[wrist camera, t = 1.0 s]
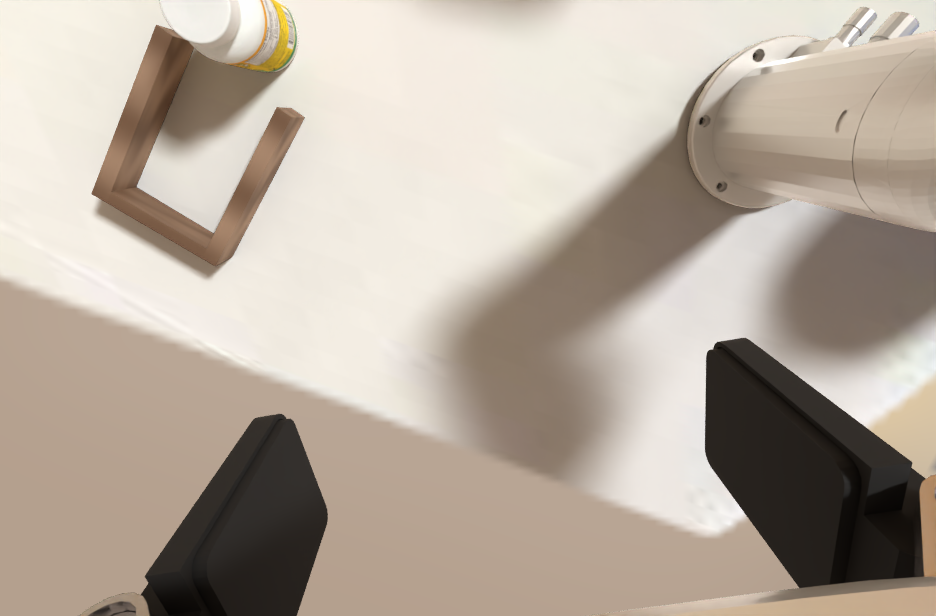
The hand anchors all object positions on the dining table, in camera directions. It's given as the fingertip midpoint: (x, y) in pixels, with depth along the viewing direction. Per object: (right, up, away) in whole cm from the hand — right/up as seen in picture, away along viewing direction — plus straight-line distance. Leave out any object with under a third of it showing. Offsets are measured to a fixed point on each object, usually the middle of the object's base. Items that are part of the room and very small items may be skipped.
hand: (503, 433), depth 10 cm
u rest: (-22, +15, +28) cm, 39 cm away
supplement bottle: (-16, +24, +25) cm, 38 cm away
